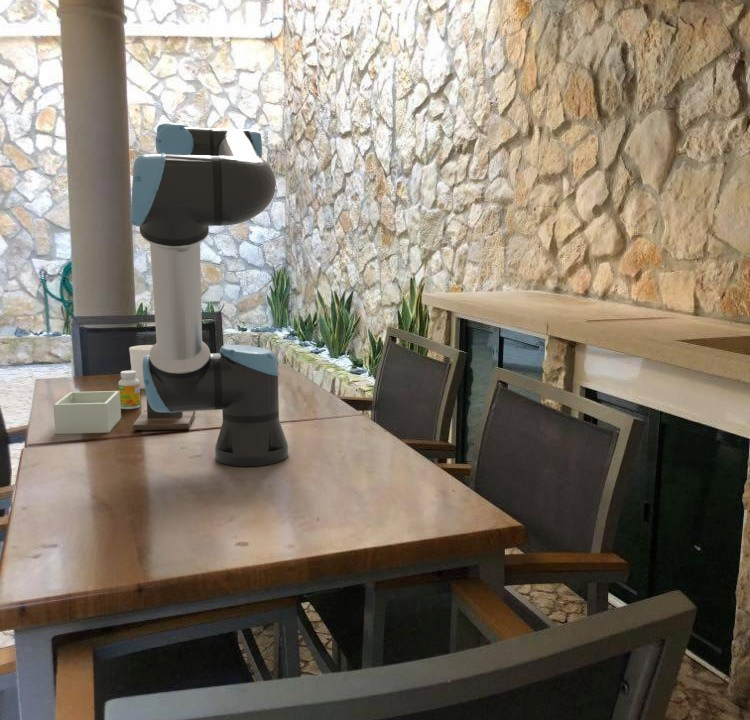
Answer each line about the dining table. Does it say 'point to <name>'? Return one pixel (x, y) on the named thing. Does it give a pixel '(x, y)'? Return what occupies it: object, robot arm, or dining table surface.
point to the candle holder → (139, 361)
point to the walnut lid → (163, 420)
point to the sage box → (87, 412)
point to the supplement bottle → (129, 390)
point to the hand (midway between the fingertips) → (180, 289)
